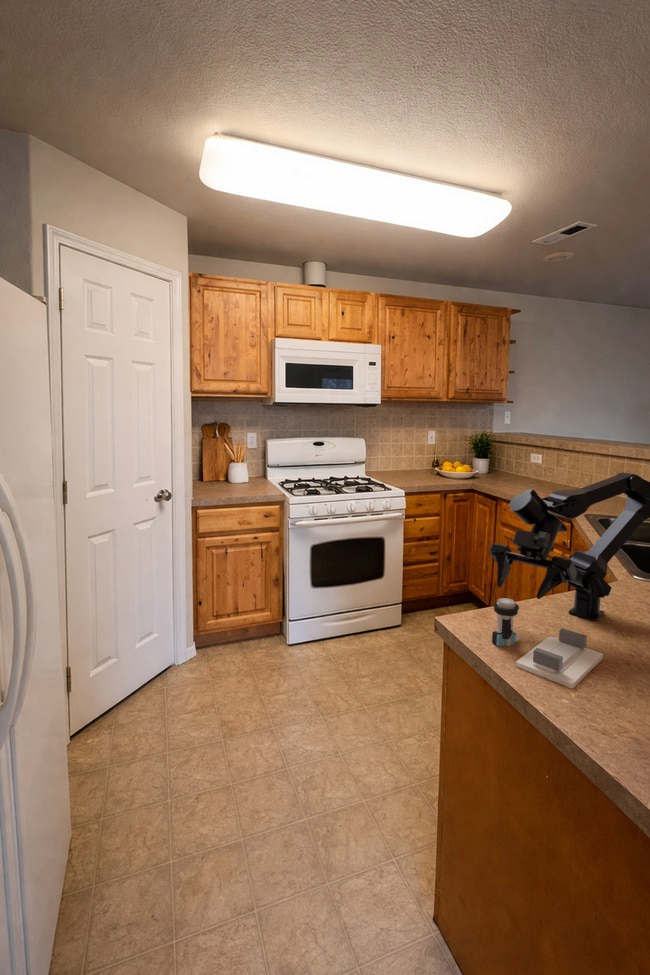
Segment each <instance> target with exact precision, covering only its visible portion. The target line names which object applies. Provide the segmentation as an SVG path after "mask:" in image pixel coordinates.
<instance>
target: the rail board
mask: <svg viewBox="0 0 650 975" xmlns="http://www.w3.org/2000/svg"><path fill="white" fill-rule="evenodd" d="M558 633H559V634H558V638H556V637H553V636H547V637H546V638H545V639H544V640H543V641H541V642H540V643H539V644H537V645H536V646H535V647H533V648H532V649H531V650H529V651H528V652H526V654H524V655H523V656H521V657H520V658H519V659H518V660H516V661H515V667H516V668H518V669H521V670H523V671H526V672H529V673H532V674H534V675H536V676H539V677H540V678H541V677H542V678H544V679H547V680H549V681H552V682H554V683H557V684H559V685H562V686H564V687H567V688H569V689H572V690H573V689H575V687H576V686H577V685H578V684H579V683H580V682H581V681H582V680H584V678H585V677H586V676H587V675H588V674H589V673H590V671H592V670H593V669H594V668H595V667H596V666H597V665H598V664H599V663H600V662H601V661H602V660H603V659H604V658H603V657H604V654H603V653H601V652H598V651H596V650H592V649H589V648H587V642H588V640H587V639H588V635H585V634H584V633H583V634H582V633H580V632H575V631H573V630H569V629H567V628H561V629H559V632H558Z"/></svg>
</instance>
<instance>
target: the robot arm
mask: <svg viewBox="0 0 650 975" xmlns="http://www.w3.org/2000/svg"><path fill="white" fill-rule="evenodd" d="M622 494H624V495H625V496H626V498H625V508H624V510H623V511H622V512H621V513H619V515H618V517H617V518H616V519H615V520H614V521H613V522H612V523H611V525H609V527H608V528H607V529H606V530H605V532H603V534H602V535H601V536H600V537H599V539H597V541H596V542H595V543H594V544H593V545H592V547H591V548H590V549H588V550H586V551H581V550H576V551H575V552H573V554H572V556H571V557H570V558H568V557H563V556H558V555H554V556H552V557H551V559H549V560H548V557H549V554H550V553H553V552H554V550H555V548H554V543H555V541H556V539H557V536H558V534H559V533H562V532H567V531H568V527H567V526H566V524H565V522H564V520H563V519H562V520H561V519H559V518H558V517H561V518H564V519H568V520H569V519H570V520H573V519H575V518H578V517H579V516H581V515H583V514H585V513H586V512H587V511H588V510H589V508H590V507H591V506H593V505H596V504H598V503H601V502H604V501H607V500H609V499H611V498H614V497H616V496H620V495H622ZM508 507H509V509H510V511H512V513H514V514H515V515H516V516H517V517H518V518H519V519H520V521H522V522H523V523H524V524H526V525H532V526H531V529H530V530H528V531H524V530H520V529H516V530H515V532H514V536H513V541H512V544H514V545H516V549H517V551H519V553H517V552H513V551H512V549H511V547H510V546H509V545H506V544H501V543H497V542H495V543H493V544H492V545H490V547H489V550H488V552H489V554H490V555H491V558H492V559H493V561H494V562H495V563H496V564H497V578H496V580H497V581H496V582H497V583H496V585H497V586H496V587H497V588H498V589H501V587H502V586H503V585H504V583H505V581H506V579H507V577H508V575H509V573H510V572H511V570H512V565H513V563H514V562H516V563H517V562H518V563H522V564H526V565H530V566H534V567H539V568H542V569H545V570H546V572H545V575H544V578H543V580H542V582H541V583H540V586H539V589H538V590H537V594H536V597H535V598H536V599H537V600H540V599H542V598H543V597H544V596H546V595H547V594H548V593H549V592H551V590H553V589H556V588H557V587H558V586H559V585H562V584H567V585H568V586H569V587H571V588H574V589H575V590H574V601H573V604H574V605H573V607H572V608H570V609H569V610H568V613H569V614H571V615H573V616H577V617H581V618H584V619H587V620H591V621H597V620H598V619H599V618H601V617H602V616H603V615H604V614H605V611H604V610H600V608H601V598H603V599H604V598H605V597H607V596H608V597H609V595H610V594H611V591H612V586H611V585H610V584H609V583H608V582H607V581H606V580H605V577H607V574H608V573H607V572H608V564H609V562H610V561H611V559H612V558H613V557H614V556H615V555H616V554H617V553H618V552H619V551H620V549H621V548H622V547H623V546H624V544H625V543H626V542H627V541H628V540H629V539H630V538H631V537H632V535H633V534H635V532H636V531H637V530H638V529H639V527H640V526H641V525H642V524H643V523H644V522H645V521H646V520H648V519H650V481H648V480H646V479H644V478H643V477H641V476H639V475H638V474H635V473H629V472H619V473H616V475H613V476H610V477H608V478H606V479H605V478H604V479H602V480H600V481H597V482H594V483H592V484H589V485H586V486H584V487H581V488H575V489H574V488H573V489H563V490H555V491H553V492H551V493H550V494H549V495H548V496H546V497H542V498H541V497H540V496H539V494H538V493H537V492H536V491H535V489H533V488H532V489H531V488H527V489H526V490H525V491H523V492H521V493H519V494H517V495H515V496H513V498H511V500H510V502H509V506H508ZM557 516H558V517H557Z"/></svg>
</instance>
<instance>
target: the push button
mask: <svg viewBox="0 0 650 975" xmlns="http://www.w3.org/2000/svg"><path fill="white" fill-rule="evenodd" d="M492 606H493V612H495V614H497V622H496V623H497V625H496V630H494V631H492V635H491V643H492V644H494V645H495V646H496V647H498V648H501V647H506V646H507V647H511V645H514V644H516V642H517V641H518V640H520V639H521V638H519V637H520V634H519V633H516V632H515V631H514V616H516V615H518V611H519V609H520V605H518V604H517V603H516V602H515V600H513V599H512V598H509V597H508V598H506V597H501V598H498V599H497V600H496V601H494V602H493V605H492Z"/></svg>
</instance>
